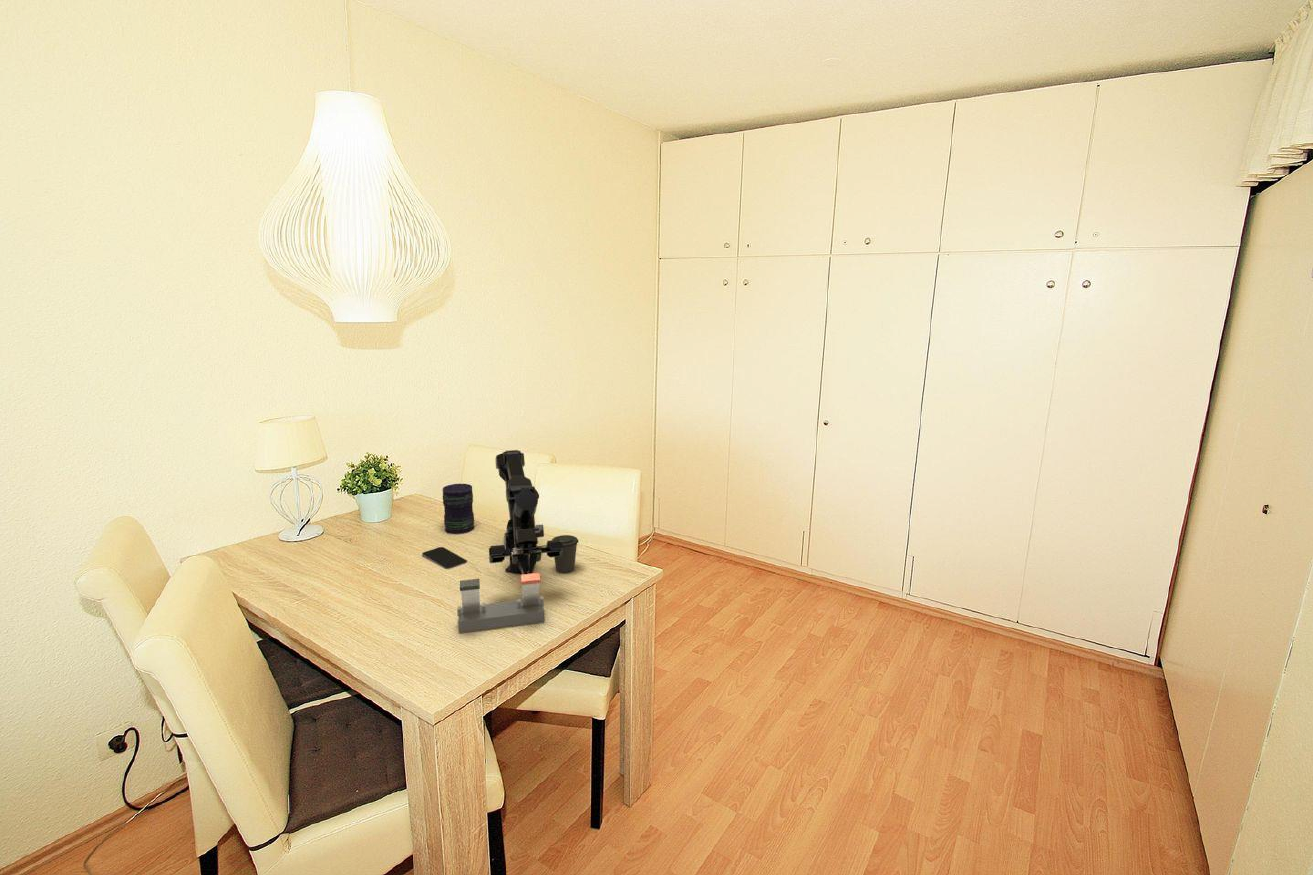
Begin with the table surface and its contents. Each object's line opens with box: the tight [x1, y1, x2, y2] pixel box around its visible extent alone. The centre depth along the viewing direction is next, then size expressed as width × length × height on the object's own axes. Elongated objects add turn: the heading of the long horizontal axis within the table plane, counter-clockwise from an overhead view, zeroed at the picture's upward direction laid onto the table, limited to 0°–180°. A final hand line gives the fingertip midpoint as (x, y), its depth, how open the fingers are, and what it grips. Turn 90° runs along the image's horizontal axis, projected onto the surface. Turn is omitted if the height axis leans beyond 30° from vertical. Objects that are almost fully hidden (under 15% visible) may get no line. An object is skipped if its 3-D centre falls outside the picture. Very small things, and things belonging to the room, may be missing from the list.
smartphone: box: [421, 546, 468, 570], centre depth 178 cm, size 7×1×15 cm
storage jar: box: [442, 483, 475, 535], centre depth 200 cm, size 10×10×15 cm
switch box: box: [456, 595, 545, 634], centre depth 143 cm, size 7×20×5 cm, turn 107°
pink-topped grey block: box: [520, 572, 541, 606], centre depth 142 cm, size 2×4×9 cm, turn 107°
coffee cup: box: [551, 534, 579, 574], centre depth 171 cm, size 8×8×10 cm
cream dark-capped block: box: [459, 578, 481, 614], centre depth 139 cm, size 2×4×9 cm, turn 107°
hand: (528, 583), depth 148 cm, fingers closed
